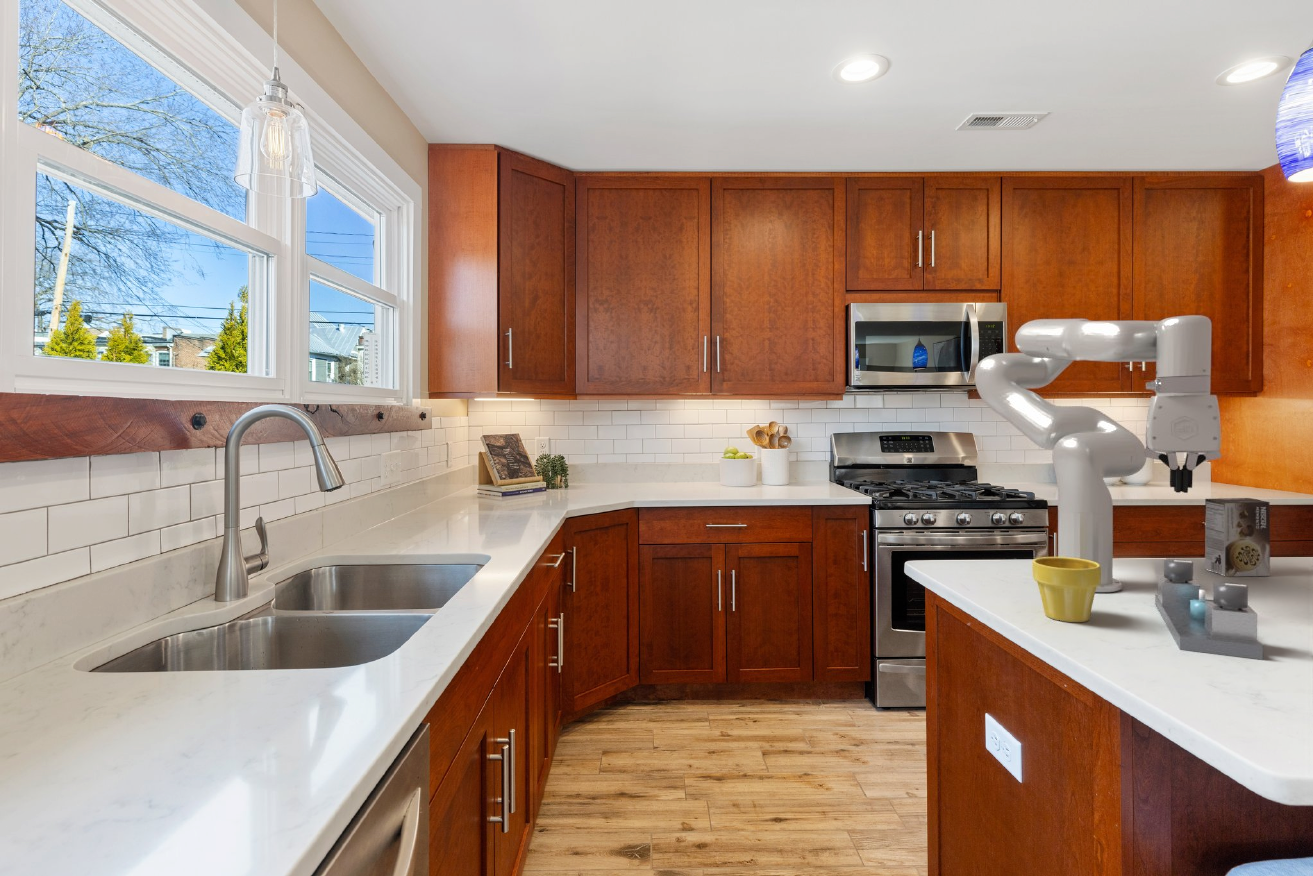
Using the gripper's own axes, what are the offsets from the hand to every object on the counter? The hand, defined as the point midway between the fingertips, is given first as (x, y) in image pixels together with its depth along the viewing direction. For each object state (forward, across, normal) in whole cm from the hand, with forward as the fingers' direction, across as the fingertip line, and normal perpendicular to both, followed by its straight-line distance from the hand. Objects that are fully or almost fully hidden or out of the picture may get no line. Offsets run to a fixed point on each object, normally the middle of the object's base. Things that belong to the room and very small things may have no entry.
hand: (1180, 491), depth 118 cm
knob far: (+19, 0, -1) cm, 19 cm away
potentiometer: (+20, +2, -9) cm, 22 cm away
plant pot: (+22, -17, -12) cm, 30 cm away
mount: (+22, +2, -9) cm, 23 cm away
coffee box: (+22, +15, +40) cm, 48 cm away
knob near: (+19, +4, -17) cm, 26 cm away
